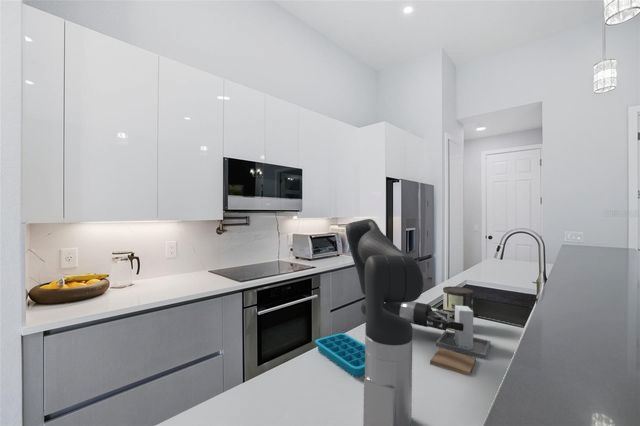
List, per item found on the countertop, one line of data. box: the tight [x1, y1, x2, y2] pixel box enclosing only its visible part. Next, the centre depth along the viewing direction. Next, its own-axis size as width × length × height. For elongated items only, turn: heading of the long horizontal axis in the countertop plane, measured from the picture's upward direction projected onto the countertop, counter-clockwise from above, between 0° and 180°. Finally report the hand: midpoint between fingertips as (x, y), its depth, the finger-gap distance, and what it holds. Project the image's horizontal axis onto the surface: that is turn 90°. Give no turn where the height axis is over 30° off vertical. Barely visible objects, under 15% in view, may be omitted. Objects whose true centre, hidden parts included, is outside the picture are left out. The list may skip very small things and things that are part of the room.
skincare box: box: [453, 305, 474, 351], centre depth 95 cm, size 6×4×12 cm
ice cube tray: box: [314, 332, 365, 378], centre depth 85 cm, size 12×20×3 cm, turn 33°
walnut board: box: [429, 347, 477, 377], centre depth 83 cm, size 10×10×1 cm
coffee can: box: [442, 286, 474, 332], centre depth 110 cm, size 10×10×14 cm
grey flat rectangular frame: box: [435, 330, 492, 360], centre depth 95 cm, size 12×14×1 cm
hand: (466, 323), depth 94 cm, fingers open, 8 cm apart
